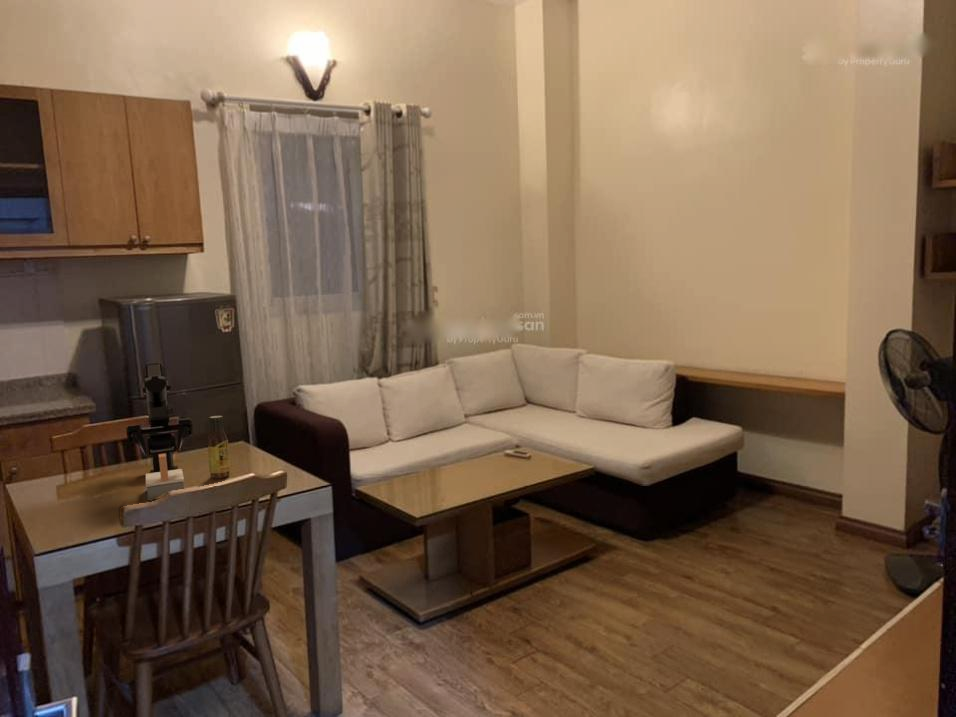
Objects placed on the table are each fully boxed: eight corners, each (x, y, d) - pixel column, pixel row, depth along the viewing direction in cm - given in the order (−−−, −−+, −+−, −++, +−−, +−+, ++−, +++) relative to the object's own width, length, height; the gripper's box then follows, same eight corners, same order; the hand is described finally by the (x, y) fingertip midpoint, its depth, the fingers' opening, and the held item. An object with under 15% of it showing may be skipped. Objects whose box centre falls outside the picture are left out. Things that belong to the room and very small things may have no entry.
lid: (146, 476, 222) (143, 450, 221) (182, 471, 226) (179, 445, 225) (146, 486, 211) (143, 459, 210) (184, 481, 215) (181, 454, 214)
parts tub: (148, 489, 222) (146, 477, 222) (182, 484, 227) (181, 472, 226) (148, 500, 212) (146, 487, 211) (184, 494, 216) (183, 482, 215)
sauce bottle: (223, 479, 230) (218, 419, 228) (206, 479, 232) (200, 419, 229) (234, 473, 237) (229, 414, 234) (217, 473, 238) (212, 414, 235)
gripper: (123, 400, 218) (126, 442, 209) (189, 393, 225) (194, 434, 217) (126, 420, 226) (129, 462, 217) (190, 413, 234) (195, 453, 225)
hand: (162, 452), depth 219 cm, fingers open, 9 cm apart
